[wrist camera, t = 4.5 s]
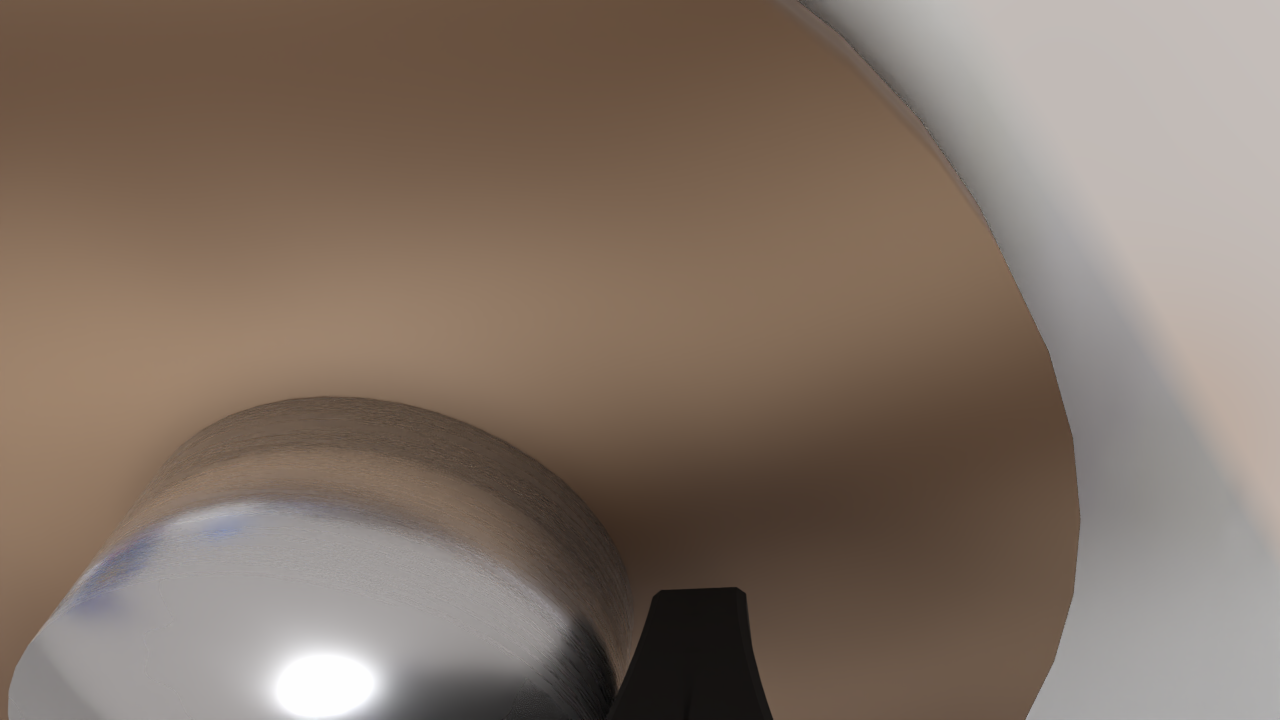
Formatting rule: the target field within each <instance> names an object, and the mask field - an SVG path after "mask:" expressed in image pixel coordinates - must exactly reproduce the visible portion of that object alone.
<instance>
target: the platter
mask: <svg viewBox="0 0 1280 720" xmlns="http://www.w3.org/2000/svg"><path fill="white" fill-rule="evenodd" d="M315 397H349V398H365V399H372V400H380V401H387V402H394V403H400V404H404V405H408V406H412V407H416V408H421V409H425V410H429V411H433V412H436V413H439V414H442V415H445V416H448V417H450V418H453V419H456V420H459V421H462V422H465V423H467V424H470V425H472V426H474V427H477V428H479V429H481V430H483V431H485V432H487V433H489V434H491V435H494V436H496V437H498V438H500V439H502V440H504V441H506V442H507V443H509V444H511V445H512V446H514V447H516V448H517V449H519V450H521V451H522V452H524V453H526V454H527V455H529V456H531V457H532V458H534V459H535V460H537V461H538V462H539V463H541V464H542V465H543V466H544V467H546V468H547V469H548V470H550V471H551V472H552V473H554V474H555V475H556V476H558V477H559V478H560V479H561V480H563V481H564V482H565V483H566V484H567V485H568V486H569V487H570V488H571V489H572V490H573V491H574V492H575V493H576V494H577V495H578V496H579V497H580V498H581V499H582V500H583V501H584V502H585V503H586V504H587V505H588V507H589V508H590V509H591V510H592V512H593V513H594V514H595V515H596V517H597V518H598V519H599V520H600V522H601V523H602V524H603V525H604V527H605V529H606V530H607V532H608V534H609V535H610V537H611V539H612V541H613V542H614V544H615V546H616V547H617V549H618V551H619V553H620V556H621V558H622V561H623V563H624V566H625V568H626V571H627V573H628V577H629V582H630V587H631V591H632V596H633V613H634V623H633V632H632V642H631V651H630V660H629V665H630V662H631V660H632V657H633V655H634V652H635V650H636V647H637V644H638V642H639V639H640V636H641V633H642V630H643V627H644V624H645V621H646V618H647V615H648V612H649V608H650V605H651V601H652V598H653V596H654V595H655V594H657V593H658V592H659V591H660V590H673V589H697V588H722V587H737V588H739V589H740V590H742V591H743V592H745V593H746V597H747V605H748V613H749V622H750V630H751V639H752V647H753V652H754V656H755V660H756V664H757V668H758V671H759V675H760V679H761V683H762V686H763V689H764V693H765V696H766V699H767V702H768V705H769V708H770V711H771V714H772V717H773V720H1025V719H1026V717H1027V715H1028V713H1029V711H1030V709H1031V707H1032V705H1033V703H1034V701H1035V699H1036V697H1037V695H1038V693H1039V691H1040V689H1041V687H1042V685H1043V683H1044V681H1045V679H1046V677H1047V675H1048V673H1049V670H1050V668H1051V666H1052V664H1053V662H1054V660H1055V656H1056V653H1057V649H1058V646H1059V642H1060V639H1061V635H1062V632H1063V629H1064V625H1065V622H1066V618H1067V615H1068V611H1069V608H1070V604H1071V601H1072V597H1073V593H1074V582H1075V572H1076V561H1077V551H1078V540H1079V530H1080V510H1079V499H1078V488H1077V477H1076V466H1075V456H1074V445H1073V437H1072V433H1071V430H1070V426H1069V423H1068V419H1067V416H1066V412H1065V409H1064V405H1063V401H1062V398H1061V394H1060V391H1059V387H1058V384H1057V380H1056V376H1055V373H1054V369H1053V366H1052V362H1051V359H1050V355H1049V352H1048V349H1047V347H1046V345H1045V343H1044V341H1043V339H1042V337H1041V335H1040V333H1039V331H1038V328H1037V326H1036V324H1035V322H1034V320H1033V318H1032V316H1031V314H1030V312H1029V310H1028V308H1027V305H1026V303H1025V301H1024V299H1023V297H1022V295H1021V293H1020V291H1019V289H1018V287H1017V285H1016V282H1015V280H1014V278H1013V276H1012V274H1011V272H1010V270H1009V268H1008V266H1007V264H1006V262H1005V259H1004V257H1003V255H1002V253H1001V251H1000V249H999V247H998V245H997V243H996V241H995V239H994V237H993V234H992V232H991V230H990V228H989V226H988V224H987V222H986V220H985V218H984V216H983V214H982V212H981V209H980V207H979V205H978V204H977V202H976V201H975V199H974V198H973V196H972V195H971V193H970V192H969V190H968V189H967V188H966V186H965V185H964V183H963V182H962V180H961V179H960V177H959V176H958V175H957V173H956V172H955V170H954V169H953V167H952V166H951V164H950V163H949V161H948V160H947V159H946V157H945V156H944V154H943V153H942V151H941V150H940V148H939V147H938V146H937V144H936V143H935V141H934V140H933V138H932V137H931V135H930V134H929V132H928V131H927V130H926V128H925V127H924V125H923V124H922V122H921V121H920V119H919V118H918V117H917V116H916V115H915V114H914V113H913V112H912V111H911V110H910V109H909V107H908V106H907V105H906V104H905V103H904V102H903V101H902V100H901V99H900V98H899V97H898V96H897V95H896V94H895V93H894V91H893V90H892V89H891V88H890V87H889V86H888V85H887V84H886V83H885V82H884V81H883V80H882V79H881V78H880V77H879V75H878V74H877V73H876V72H875V71H874V70H873V69H872V68H871V67H870V66H869V65H868V64H867V63H866V62H865V61H864V59H863V58H862V57H861V56H860V55H859V54H858V53H857V52H856V51H855V50H854V49H853V48H852V47H851V46H850V45H849V43H848V42H847V41H846V40H845V39H844V38H843V37H842V36H841V35H840V34H838V33H837V32H836V31H835V30H833V29H832V28H831V27H830V26H828V25H827V24H826V23H825V22H823V21H822V20H821V19H820V18H818V17H817V16H816V15H815V14H813V13H812V12H811V11H810V10H808V9H807V8H806V7H805V6H803V5H802V4H801V3H800V2H798V1H797V0H0V720H9V717H8V699H9V688H10V684H11V681H12V678H13V674H14V671H15V667H16V666H17V664H18V662H19V660H20V659H21V657H22V655H23V653H24V652H25V650H26V648H27V647H28V645H29V644H30V642H31V641H32V640H33V638H34V637H35V636H36V634H37V633H38V632H39V630H40V629H41V628H42V626H43V625H44V624H45V622H46V621H47V620H48V618H49V617H50V616H51V614H52V613H53V612H54V610H55V609H56V608H57V606H58V605H59V604H60V602H61V601H62V600H63V598H64V597H65V596H66V594H67V593H68V592H69V590H70V589H71V588H72V586H73V585H74V584H75V582H76V581H77V579H78V578H79V577H80V575H81V574H82V573H83V571H84V570H85V569H86V567H87V566H88V565H89V563H90V562H91V561H92V559H93V558H94V557H95V555H96V554H97V553H98V551H99V550H100V549H101V547H102V546H103V545H104V543H105V542H106V541H107V539H108V538H109V537H110V535H111V534H112V533H113V531H114V530H115V529H116V527H117V526H118V525H119V523H120V522H121V521H122V519H123V518H124V517H125V515H126V514H127V513H128V511H129V510H130V509H131V507H132V506H133V505H134V503H135V502H136V500H137V499H138V498H139V496H140V495H141V494H142V492H143V491H144V490H145V488H146V487H147V486H148V484H149V483H150V482H151V480H152V479H153V478H154V476H155V475H156V474H157V472H158V471H159V470H160V468H161V467H162V466H163V464H164V463H165V462H166V461H167V460H168V459H169V458H170V457H171V456H172V455H173V454H174V452H175V451H176V450H177V449H178V448H179V447H180V446H181V445H183V444H184V443H185V442H186V441H188V440H189V439H190V438H192V437H193V436H194V435H196V434H197V433H198V432H200V431H201V430H203V429H205V428H206V427H208V426H210V425H212V424H214V423H216V422H218V421H220V420H222V419H224V418H225V417H227V416H230V415H233V414H236V413H239V412H242V411H245V410H247V409H250V408H253V407H256V406H261V405H265V404H270V403H275V402H280V401H285V400H291V399H303V398H315Z"/></svg>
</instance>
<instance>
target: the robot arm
mask: <svg viewBox="0 0 1280 720" xmlns="http://www.w3.org/2000/svg"><path fill="white" fill-rule="evenodd" d="M605 720H773V717H772V714H771V711H770V708H769V705H768V702H767V699H766V696H765V693H764V689H763V686H762V683H761V679H760V675H759V671H758V668H757V664H756V660H755V656H754V652H753V647H752V639H751V630H750V622H749V613H748V605H747V597H746V593H745V592H743V591H742V590H740V589H739V588H737V587H722V588H697V589H673V590H660V591H659V592H658V593H657V594H655V595H654V596H653V598H652V601H651V605H650V608H649V612H648V615H647V618H646V621H645V624H644V627H643V630H642V633H641V636H640V639H639V642H638V644H637V647H636V650H635V652H634V655H633V657H632V660H631V662H630V665H629V667H628V670H627V672H626V675H625V677H624V679H623V682H622V684H621V687H620V689H619V691H618V693H617V695H616V698H615V700H614V702H613V704H612V706H611V708H610V711H609V713H608V715H607V717H606V719H605Z"/></svg>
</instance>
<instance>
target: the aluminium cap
mask: <svg viewBox="0 0 1280 720" xmlns="http://www.w3.org/2000/svg"><path fill="white" fill-rule="evenodd" d="M633 623H634V613H633V596H632V591H631V587H630V582H629V577H628V573H627V571H626V568H625V566H624V563H623V561H622V558H621V556H620V553H619V551H618V549H617V547H616V546H615V544H614V542H613V541H612V539H611V537H610V535H609V534H608V532H607V530H606V529H605V527H604V525H603V524H602V523H601V522H600V520H599V519H598V518H597V517H596V515H595V514H594V513H593V512H592V510H591V509H590V508H589V507H588V505H587V504H586V503H585V502H584V501H583V500H582V499H581V498H580V497H579V496H578V495H577V494H576V493H575V492H574V491H573V490H572V489H571V488H570V487H569V486H568V485H567V484H566V483H565V482H564V481H563V480H561V479H560V478H559V477H558V476H556V475H555V474H554V473H552V472H551V471H550V470H548V469H547V468H546V467H544V466H543V465H542V464H541V463H539V462H538V461H537V460H535V459H534V458H532V457H531V456H529V455H527V454H526V453H524V452H522V451H521V450H519V449H517V448H516V447H514V446H512V445H511V444H509V443H507V442H506V441H504V440H502V439H500V438H498V437H496V436H494V435H491V434H489V433H487V432H485V431H483V430H481V429H479V428H477V427H474V426H472V425H470V424H467V423H465V422H462V421H459V420H456V419H453V418H450V417H448V416H445V415H442V414H439V413H436V412H433V411H429V410H425V409H421V408H416V407H412V406H408V405H404V404H400V403H394V402H387V401H380V400H372V399H365V398H349V397H315V398H303V399H291V400H285V401H280V402H275V403H270V404H265V405H261V406H256V407H253V408H250V409H247V410H245V411H242V412H239V413H236V414H233V415H230V416H227V417H225V418H224V419H222V420H220V421H218V422H216V423H214V424H212V425H210V426H208V427H206V428H205V429H203V430H201V431H200V432H198V433H197V434H196V435H194V436H193V437H192V438H190V439H189V440H188V441H186V442H185V443H184V444H183V445H181V446H180V447H179V448H178V449H177V450H176V451H175V452H174V454H173V455H172V456H171V457H170V458H169V459H168V460H167V461H166V462H165V463H164V464H163V466H162V467H161V468H160V470H159V471H158V472H157V474H156V475H155V476H154V478H153V479H152V480H151V482H150V483H149V484H148V486H147V487H146V488H145V490H144V491H143V492H142V494H141V495H140V496H139V498H138V499H137V500H136V502H135V503H134V505H133V506H132V507H131V509H130V510H129V511H128V513H127V514H126V515H125V517H124V518H123V519H122V521H121V522H120V523H119V525H118V526H117V527H116V529H115V530H114V531H113V533H112V534H111V535H110V537H109V538H108V539H107V541H106V542H105V543H104V545H103V546H102V547H101V549H100V550H99V551H98V553H97V554H96V555H95V557H94V558H93V559H92V561H91V562H90V563H89V565H88V566H87V567H86V569H85V570H84V571H83V573H82V574H81V575H80V577H79V578H78V579H77V581H76V582H75V584H74V585H73V586H72V588H71V589H70V590H69V592H68V593H67V594H66V596H65V597H64V598H63V600H62V601H61V602H60V604H59V605H58V606H57V608H56V609H55V610H54V612H53V613H52V614H51V616H50V617H49V618H48V620H47V621H46V622H45V624H44V625H43V626H42V628H41V629H40V630H39V632H38V633H37V634H36V636H35V637H34V638H33V640H32V641H31V642H30V644H29V645H28V647H27V648H26V650H25V652H24V653H23V655H22V657H21V659H20V660H19V662H18V664H17V666H16V667H15V671H14V674H13V678H12V681H11V684H10V688H9V699H8V717H9V720H605V719H606V717H607V715H608V713H609V711H610V708H611V706H612V704H613V702H614V700H615V698H616V695H617V693H618V691H619V689H620V687H621V684H622V682H623V679H624V677H625V675H626V672H627V670H628V667H629V660H630V651H631V642H632V632H633Z"/></svg>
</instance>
